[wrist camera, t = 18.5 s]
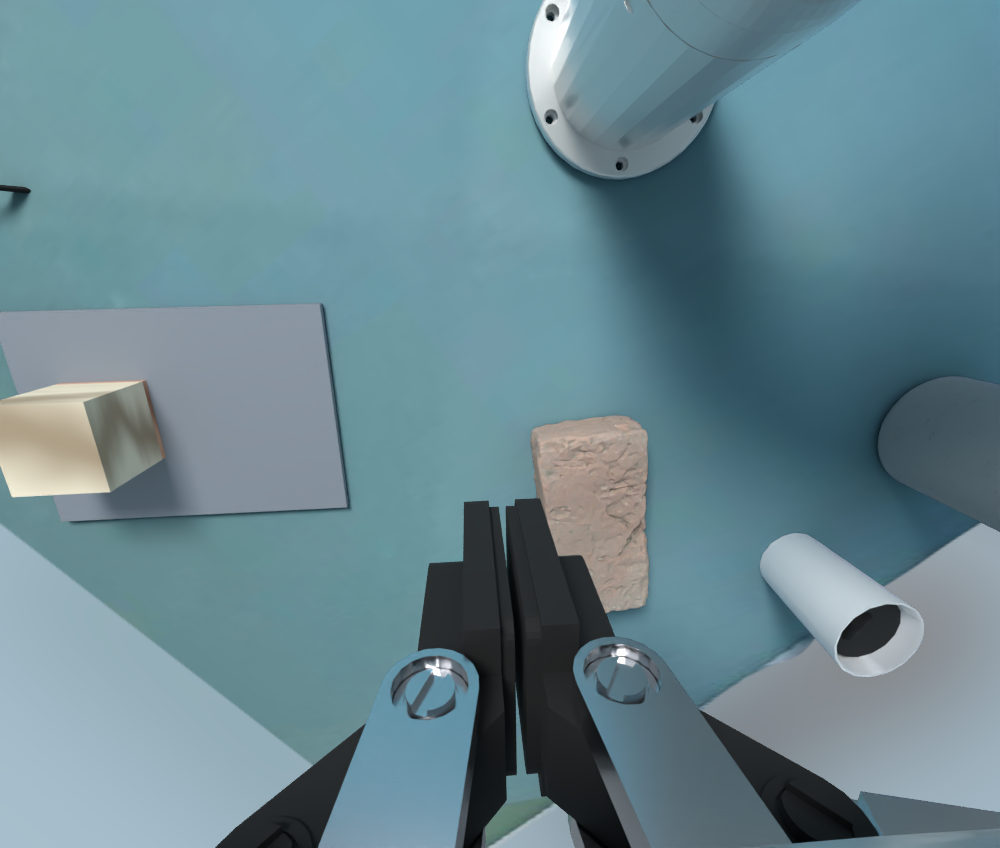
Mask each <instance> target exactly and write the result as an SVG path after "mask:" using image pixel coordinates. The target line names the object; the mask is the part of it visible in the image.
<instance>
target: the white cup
mask: <svg viewBox="0 0 1000 848" xmlns="http://www.w3.org/2000/svg"><path fill="white" fill-rule="evenodd" d="M760 571H761V575H762V576H763V578H764V579H765V580H766V582H767V583H768V584H769V585H770V586H771V588H772V589H773V590H774V591H775V592H776V593H777V594H778V596H779V597H780V598H781V599H782V600H783V601H784V603H785V604H786V605H787V606H788V607H789V608H790V610H791V611H792V612H793V613H794V614H795V615H796V617H797V618H798V619H799V620H800V621H801V622H802V623H803V625H804V626H805V627H806V628H807V629H808V630H809V632H810V633H811V634H812V635H813V636H814V637H815V639H816V640H817V641H818V642H819V643H820V644H821V646H822V647H823V648H824V649H825V650H826V651H827V652H828V654H829V655H830V656H831V657H832V658H833V659H834V661H835V662H836V663H837V664H838V665H839V666H840V668H841V669H842V670H843V671H846V672H848V673H850V674H852V675H854V676H860V677H861V676H862V677H873V676H877V675H881V674H885V673H889V672H890V671H892V670H894V669H895V668H897V667H899V666H901V665H902V664H904V663H905V662H906V661H907V660H908V659H909V658H910V657H911V656H912V655H913V654H914V653H915V652H916V651H917V649H918V647H919V645H920V643H921V640H922V638H923V636H924V621H923V620H922V618H921V616H920V614H919V612H918V611H917V610H916V609H915V608H913V607H912V606H910V605H909V604H907V603H906V602H905V601H903V600H902V599H900V598H899V597H897V596H896V595H895V594H893V593H892V592H890V591H889V590H887V589H886V588H885V587H883V586H882V585H880V584H879V583H877V582H876V581H874V580H873V579H872V578H870V577H869V576H867V575H866V574H864V573H863V572H862V571H860V570H859V569H857V568H856V567H854V566H853V565H852V564H850V563H849V562H847V561H846V560H844V559H843V558H841V557H840V556H839V555H837V554H836V553H834V552H833V551H831V550H830V549H829V548H827V547H826V546H824V545H823V544H821V543H820V542H818V541H817V540H816V539H814V538H812V537H811V536H809V535H807V534H801V533H792V534H788V535H785V536H782V537H780V538H779V539H777V540H775V541H774V542H772V543H771V544H770V545H769V547H768V548H767V549H766V550H765V551H764V553H763V555H762V558H761V561H760Z"/></svg>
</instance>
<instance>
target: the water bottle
mask: <svg viewBox="0 0 1000 848" xmlns="http://www.w3.org/2000/svg"><path fill="white" fill-rule="evenodd" d="M878 453H879V457H880V460H881V463H882V465H883V467H884V468H885V470H886V471H887V473H888V474H889V475H891V476H892V477H893V478H894V479H895V480H897V481H898V482H900V483H902V484H904V485H906V486H908V487H910V488H912V489H914V490H916V491H918V492H920V493H922V494H924V495H926V496H928V497H931V498H933V499H935V500H937V501H939V502H941V503H943V504H945V505H947V506H949V507H951V508H953V509H955V510H957V511H959V512H961V513H963V514H965V515H967V516H969V517H971V518H973V519H975V520H977V521H979V522H981V523H983V524H985V525H987V526H989V527H991V528H993V529H996V530H998V531H999V532H1000V385H999V384H994V383H990V382H985V381H981V380H976V379H971V378H967V377H959V376H947V377H941V378H936V379H933V380H930V381H928V382H925V383H922V384H920V385H918V386H917V387H915V388H913V389H911V390H910V391H909V392H907V393H906V394H905V395H904V396H902V397H901V398H900V399H899V400H898V401H897V402H896V403H895V404H894V406H893V407H892V408H891V410H890V411H889V413H888V414H887V415H886V417H885V419H884V422H883V424H882V426H881V429H880V432H879V436H878Z"/></svg>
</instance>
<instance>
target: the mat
mask: <svg viewBox="0 0 1000 848" xmlns="http://www.w3.org/2000/svg"><path fill="white" fill-rule="evenodd" d="M0 343H1V346H2V348H3V351H4V354H5V357H6V360H7V363H8V366H9V369H10V372H11V375H12V378H13V381H14V384H15V387H16V389H17V392H18V395H20V394H24V393H27V392H31V391H34V390H38V389H41V388H45V387H49V386H52V385H56V384H61V383H87V382H112V381H138V380H146V383H147V387H148V390H149V394H150V398H151V402H152V406H153V410H154V414H155V417H156V421H157V425H158V429H159V433H160V437H161V441H162V444H163V448H164V452H165V456H166V458H164V459H162V460H161V461H159V462H158V463H156V464H154V465H153V466H151V467H150V468H148V469H146V470H145V471H143V472H142V473H140V474H139V475H137V476H135V477H134V478H132V479H131V480H129V481H127V482H126V483H124V484H123V485H121V486H119V487H118V488H116V489H115V490H113V491H111V492H103V493H84V494H64V495H53V498H54V501H55V504H56V507H57V509H58V512H59V515H60V518H61V521H62V522H64V521H84V520H104V519H124V518H144V517H164V516H184V515H204V514H224V513H244V512H264V511H284V510H304V509H324V508H344V507H347V506H348V504H349V502H348V495H347V487H346V480H345V472H344V465H343V457H342V449H341V442H340V434H339V427H338V419H337V412H336V404H335V397H334V389H333V381H332V374H331V366H330V359H329V351H328V344H327V336H326V329H325V321H324V313H323V306H322V303H314V304H276V305H239V306H201V307H163V308H126V309H88V310H51V311H13V312H0Z"/></svg>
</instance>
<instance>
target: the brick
mask: <svg viewBox="0 0 1000 848" xmlns="http://www.w3.org/2000/svg"><path fill="white" fill-rule="evenodd" d="M647 444H648V437H647V432H646V430H645V429H642V428H641V425H640V424H639V423H638V422H637V421H634V420H632V419H631V418H630V417H627V416H619V415H618V416H606V417H595V418H588V419H584V420H578V421H562V422H560V423H558V424H553V425H552V424H546V425H543V426H541V427H537V428H534V429H533V431H532V433H531V447H532V458H533V463H534V470H535V471H534V480H535V483H536V494H537V498H540V500H541V503H542V506H543V509H544V512H545V516H546V519H547V522H548V525H549V528H550V531H551V535H552V538H553V541H554V544H555V547H556V550H557V553H558V556H568V555H581V556H582V557H583V558H584V560H585V563H586V565H587V568H588V570H589V573H590V575H591V578H592V580H593V583H594V585H595V588H596V590H597V593H598V595H599V598H600V600H601V603H602V605H603V608H604V610H605V613H608V612H611V611H613V610H616V611H622V610H628V609H632V608H640V607H642V606H644V605H645V603H646V599H647V597H648V581H649V578H648V573H649V559H648V552H647V538H646V534H645V532H644V529H645V528H646V523H645V510H646V504H645V503H646V497H645V493H646V489H647V485H646V483H645V482H646V481H647V476H648V456H647Z"/></svg>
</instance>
